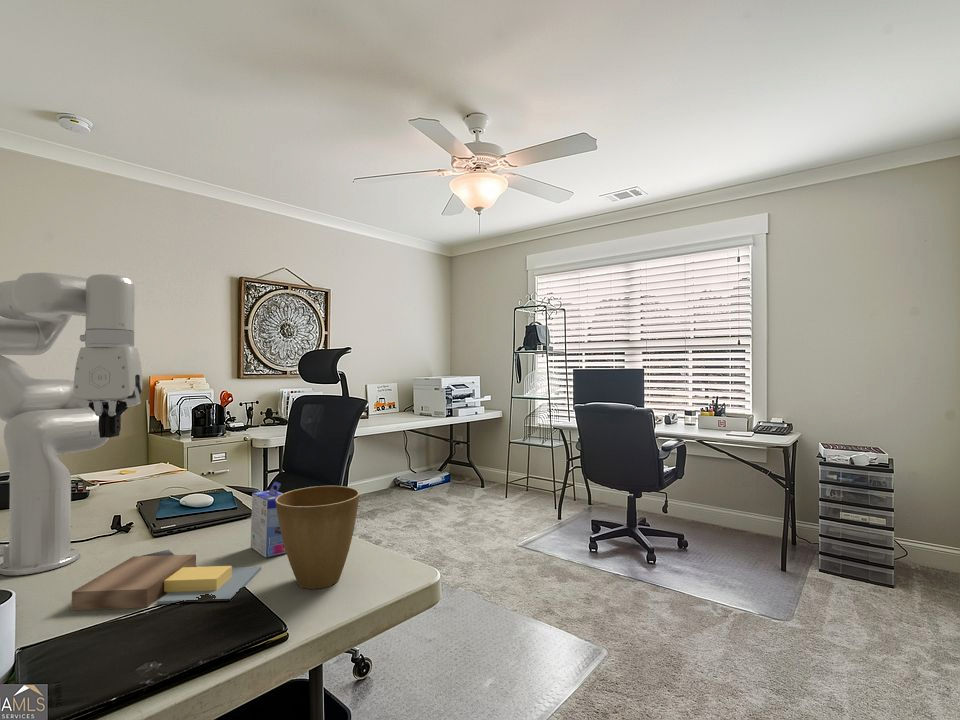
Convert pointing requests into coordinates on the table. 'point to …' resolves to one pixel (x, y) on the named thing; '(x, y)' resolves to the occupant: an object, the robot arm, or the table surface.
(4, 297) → the robot arm
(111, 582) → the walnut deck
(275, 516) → the ink cartridge box
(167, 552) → the solid state drive
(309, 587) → the plant pot
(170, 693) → the table surface
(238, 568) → the slate mat
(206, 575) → the ochre block
